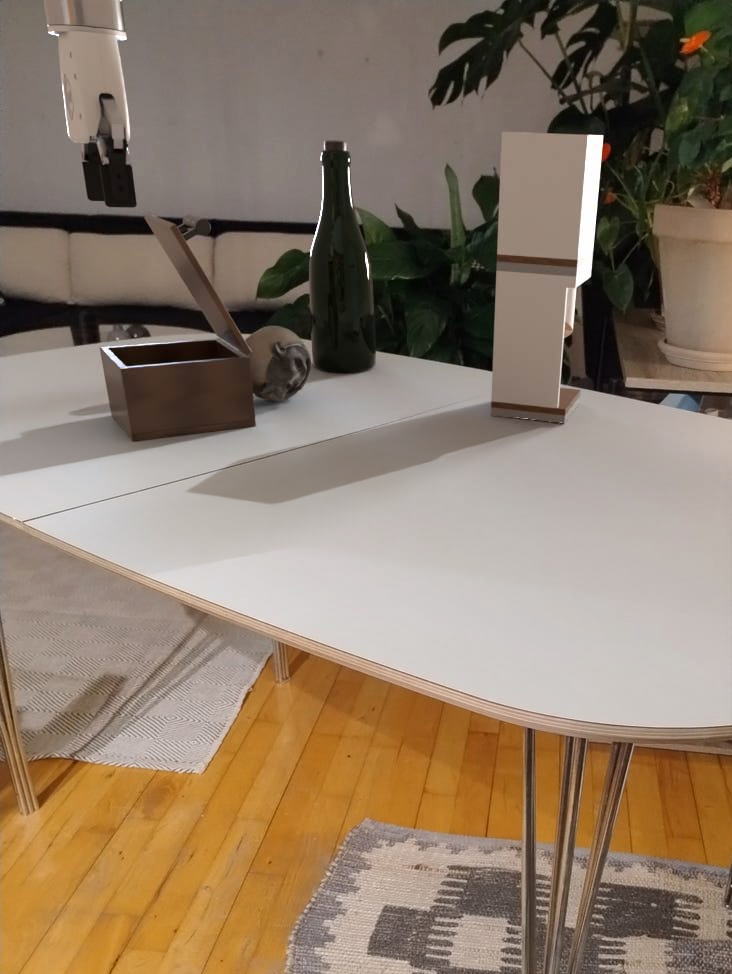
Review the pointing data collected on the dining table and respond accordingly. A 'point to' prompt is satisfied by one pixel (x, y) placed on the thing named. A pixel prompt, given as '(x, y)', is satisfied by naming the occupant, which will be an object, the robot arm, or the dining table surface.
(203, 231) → the chest door
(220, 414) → the chest
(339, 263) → the dark green glass bottle
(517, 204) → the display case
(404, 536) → the dining table surface
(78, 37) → the robot arm
